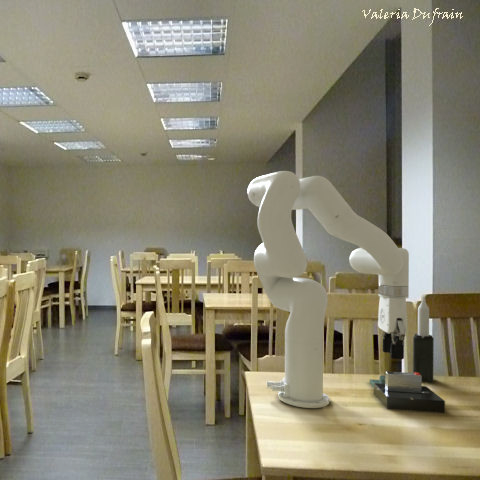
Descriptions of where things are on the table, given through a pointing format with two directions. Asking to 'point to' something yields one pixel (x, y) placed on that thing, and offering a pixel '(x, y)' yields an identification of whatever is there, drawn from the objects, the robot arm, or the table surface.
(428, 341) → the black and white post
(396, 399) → the panel
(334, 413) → the table surface
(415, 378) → the grey rectangular block
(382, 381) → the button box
